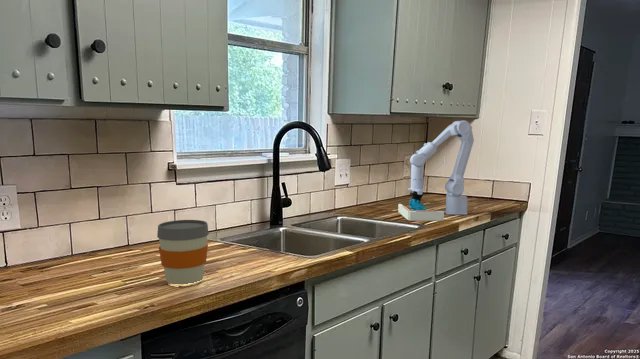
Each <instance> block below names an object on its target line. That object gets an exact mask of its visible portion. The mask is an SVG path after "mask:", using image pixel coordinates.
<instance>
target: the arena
mask: <svg viewBox="0 0 640 359" xmlns="http://www.w3.org/2000/svg"><path fill="white" fill-rule="evenodd" d="M397 209H398V210H397V212H398V213H399V214H400V215H401V216H403V218H405V219H406V220H408V221H411V222H413V221H414V222H417V221H418V222H422V221H426V222H427V221H428V222H429V221H430V222H431V221H432V222H433V221H438V222H441V221H443V222H444V221H445V213H444V211H445V210H433V209H432V210H427V211H413V210H411V209H410V208H408V207H407V206H406V205H403V204H402V203H398V208H397Z"/></svg>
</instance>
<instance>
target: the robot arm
mask: <svg viewBox="0 0 640 359" xmlns="http://www.w3.org/2000/svg"><path fill="white" fill-rule="evenodd" d="M472 130H473V126H472V125H471V124H470V123H469V121H467V120H465V119H464V120H463V119H462V120H455V121H453V122H452V123H451V124H449V125H448V126H447V127H445V129H444V130H443V131H441V133H440V134H439V135H438V136H437V137H436V138H435V139H434V140H432V142H431V141H428V142H427V143H426V142H425V143H424V144H423V146H422V147H421V148H420V149H419V150H416V151H415V153H413V154H412V155H411V156H410V158H409V163H410V164H411V166H410V167H411V168H410V187H408V188H407V190H408V191H411V192H409V194H410V196H411V200H413V199H415V200H416V201H417V200H419V201H420V202H419V204H421V201H422V198H423V196H424V193H423V191H424V165H425V164H426V161H427V160H429V158H431V156H433V155H434V154H435V153H436V152H437V150H438V147H439V146H440V145H441V144H442V143H444V142H445V141H446V140H448V138H450V137H453V136H457V137H458V139H459V140H460V142H461V144H460V146H459V150H458V154H457V156H456V160H455V164H454V167H453V171H452V173H451V174H450V176H449V178H448V180H447V181H446V182H445V185H444V189H445V191H446V194H445V198H446V199H445V201H446V202H445V210H443V211H444V214H446V215H447V216H448V215H456V216H457V215H460V216H461V215H468V196H467V195H465V194H464V195H463V192H464V191H465V186H464V184H465V179H464V176H465V172H466V169H467V165H468V162H469V160H470V156H471V155H470V154H471V151H472V149H473V146H474V142H475V138H474V135H473V131H472ZM416 201H415V202H416ZM413 203H414V202H413Z"/></svg>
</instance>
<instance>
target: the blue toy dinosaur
mask: <svg viewBox="0 0 640 359" xmlns="http://www.w3.org/2000/svg"><path fill="white" fill-rule="evenodd" d="M415 201H416V200H415V199H413V200H412V199H410V200H409V202H408V206H409V209H410V210H412V211H428V210H427V209H428V206H427V205H425V206H424V203H423V202H421V201H419V200H417V201H416V202H415ZM413 202H414V203H413ZM419 202H420V204H419Z"/></svg>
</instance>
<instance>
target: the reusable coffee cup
mask: <svg viewBox="0 0 640 359" xmlns="http://www.w3.org/2000/svg"><path fill="white" fill-rule="evenodd" d="M209 233H210V232H209V224H208V221H204V220H199V219H179V220H177V219H176V220H170V221H164V222H161V223H159V224H158V225H157V235H156V237H157V238H158V240H159V247H158V251H159V252H158V253H159V257H160V262H161V266H162V267H163V271H164V277H165V282H166V281H167V282H169V283H172V284H188V283H194V282H197V281H200V280H202V279H203V280H204V272H205V271H204V269H205V264H206V263H207V257H208V248H209V247H208V246H209V244H208V243H207V242H208V235H209Z"/></svg>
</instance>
